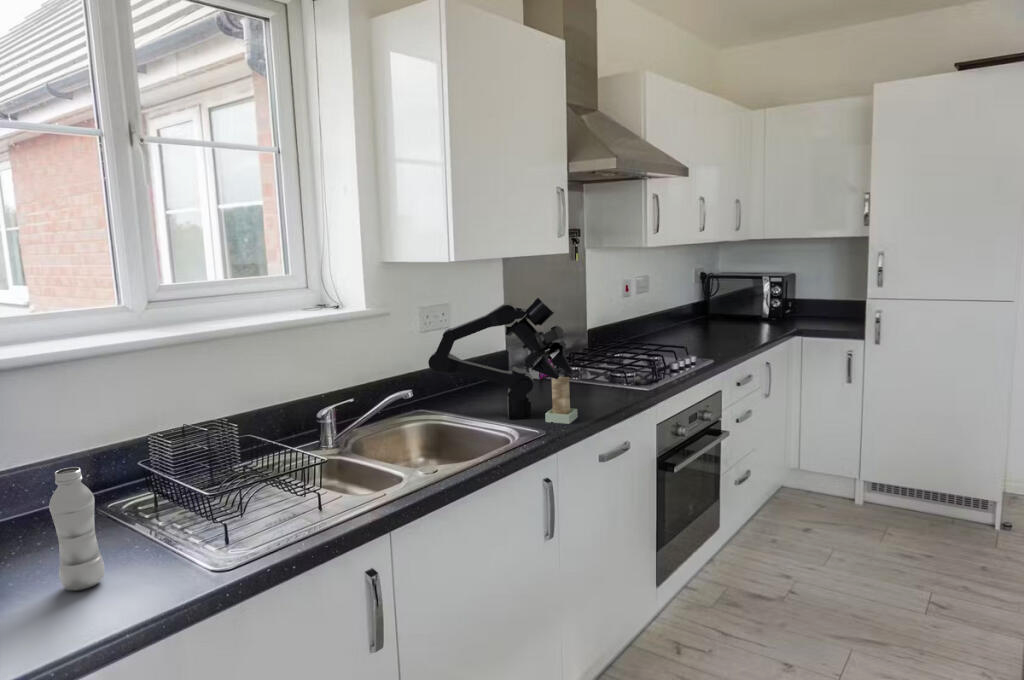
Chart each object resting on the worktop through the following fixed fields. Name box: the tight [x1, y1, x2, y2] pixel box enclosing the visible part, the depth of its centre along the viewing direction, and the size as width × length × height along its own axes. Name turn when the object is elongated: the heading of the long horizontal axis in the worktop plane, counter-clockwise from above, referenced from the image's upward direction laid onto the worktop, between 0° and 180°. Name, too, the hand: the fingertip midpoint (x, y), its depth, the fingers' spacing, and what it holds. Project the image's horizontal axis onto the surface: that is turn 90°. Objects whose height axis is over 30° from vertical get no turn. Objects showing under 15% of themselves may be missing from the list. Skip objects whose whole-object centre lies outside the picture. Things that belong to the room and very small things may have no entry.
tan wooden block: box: [551, 376, 571, 415], centre depth 206 cm, size 4×4×12 cm
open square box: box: [544, 408, 579, 425], centre depth 207 cm, size 7×7×3 cm
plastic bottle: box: [48, 466, 105, 592], centre depth 115 cm, size 6×7×20 cm
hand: (564, 374), depth 205 cm, fingers open, 9 cm apart
